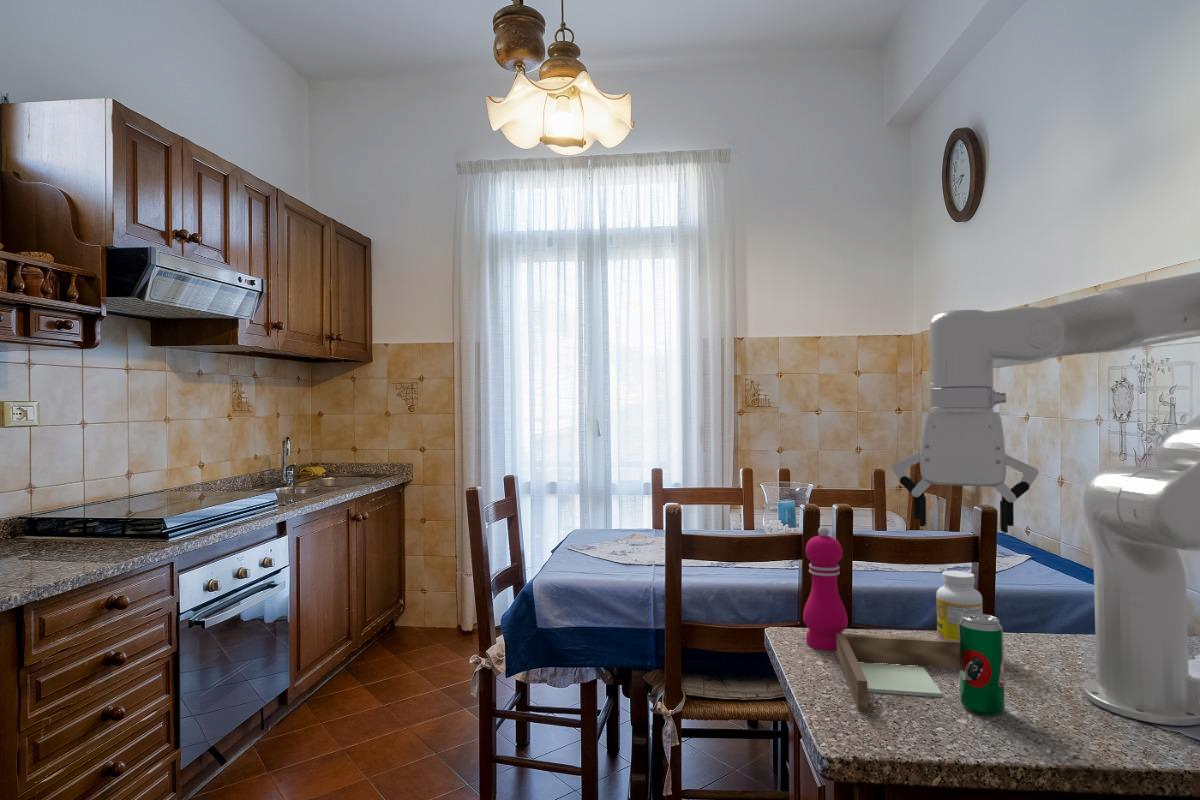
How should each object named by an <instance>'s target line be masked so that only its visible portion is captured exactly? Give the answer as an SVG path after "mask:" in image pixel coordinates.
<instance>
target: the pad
mask: <svg viewBox="0 0 1200 800" xmlns="http://www.w3.org/2000/svg"><path fill="white" fill-rule="evenodd" d="M859 665H860V667H861V669H862V671H863V673H864V675H865V677H866V680H867V690H868V693H877V694H891V695H892V694H893V695H904V696H905V695H907V696H916V697H918V696H919V697H920V696H921V697H932V698H933V697H934V698H936V697H937V698H944V697H943V696H944V695H943V692H942V691H941V689H940V688H939V686H938V685H937V684H936V683H935V681H934V680H933V678H932V677H931V676H930V674H929V673H928V672H927V670H926V669H925V667H922V666H906V665H890V664H874V663H859Z"/></svg>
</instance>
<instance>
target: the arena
mask: <svg viewBox="0 0 1200 800" xmlns="http://www.w3.org/2000/svg"><path fill="white" fill-rule="evenodd" d="M836 642H837V651H836V660H837V663H838V662H839V663H838V665H839V667H841V668H840V670H841V673H842V675H843V674H844V675H843V677H844V679H846V680H845V683H846V684H848V685H847V687H848V690H849V689H850V690H849V692H850V694H852V695H851V697H852V699H853V702H854V704H855V706H856V710H857V711H858V712H863V713H865V712H866V713H868V712H869V702H868V700H869V698H868V696H869V695H868V693H869V692H868V690H867V680H866V677H865V675H864V673H863V671H862V669H861V667H860V665H859V663H858V662H864V663H886V664H887V663H888V664H900V665H916V666H917V665H918V666H931V667H930V668H938V667H940V668H941V669H954V668H955V669H956V670H958V669H959V670H960V658H959V640H950V639H937V638H927V637H914V636H913V637H910V636H906V637H905V636H895V635H893V636H889V635H873V634H857V633H856V634H855V633H853V634H851V633H842V634H839V633H836ZM955 669H954V670H955Z"/></svg>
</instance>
